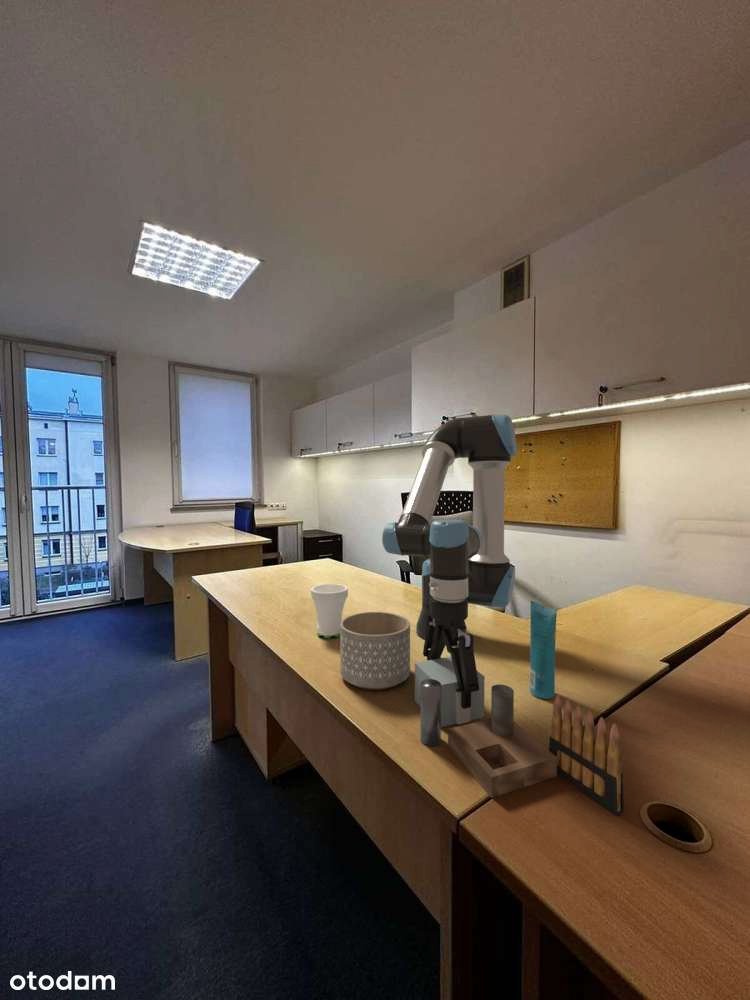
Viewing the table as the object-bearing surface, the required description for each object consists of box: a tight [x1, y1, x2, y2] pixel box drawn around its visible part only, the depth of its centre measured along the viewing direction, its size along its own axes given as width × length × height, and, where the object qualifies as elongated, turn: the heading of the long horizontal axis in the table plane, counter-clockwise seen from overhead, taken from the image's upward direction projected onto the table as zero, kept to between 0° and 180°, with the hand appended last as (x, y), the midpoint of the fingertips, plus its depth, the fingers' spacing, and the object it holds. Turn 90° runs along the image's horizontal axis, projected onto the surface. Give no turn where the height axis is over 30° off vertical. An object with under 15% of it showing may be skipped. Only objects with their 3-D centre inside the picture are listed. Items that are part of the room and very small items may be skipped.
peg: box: [419, 679, 442, 748], centre depth 69 cm, size 4×4×10 cm
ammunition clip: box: [548, 694, 625, 817], centre depth 58 cm, size 11×2×12 cm, turn 29°
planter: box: [339, 611, 411, 691], centre depth 92 cm, size 16×16×13 cm
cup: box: [310, 583, 349, 640], centre depth 118 cm, size 11×11×14 cm
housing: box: [414, 656, 485, 728], centre depth 79 cm, size 10×10×8 cm
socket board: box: [447, 684, 558, 799], centre depth 63 cm, size 12×12×10 cm
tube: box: [529, 600, 558, 700], centre depth 84 cm, size 7×5×19 cm, turn 26°
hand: (448, 707), depth 79 cm, fingers closed on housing, 10 cm apart
